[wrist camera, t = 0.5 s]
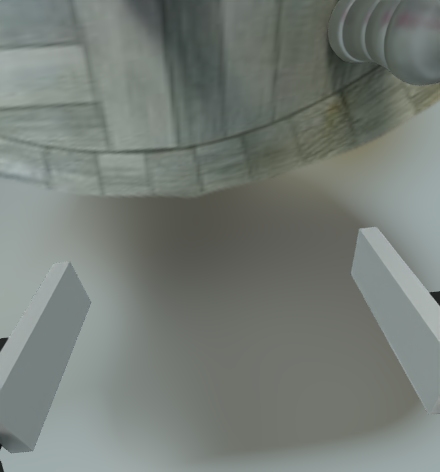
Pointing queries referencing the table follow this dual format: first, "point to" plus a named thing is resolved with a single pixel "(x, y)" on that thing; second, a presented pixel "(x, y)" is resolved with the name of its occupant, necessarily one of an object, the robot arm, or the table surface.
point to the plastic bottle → (390, 36)
